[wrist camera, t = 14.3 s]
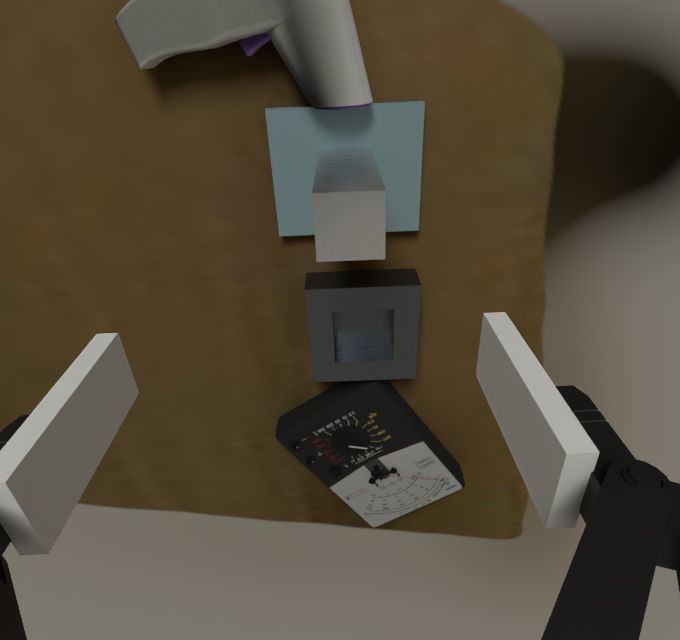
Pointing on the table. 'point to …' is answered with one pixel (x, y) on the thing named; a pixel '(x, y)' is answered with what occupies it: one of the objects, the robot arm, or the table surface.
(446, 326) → the table surface
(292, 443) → the multimeter
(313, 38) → the infrared thermometer
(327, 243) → the long steel block
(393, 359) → the socket block
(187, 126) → the table surface
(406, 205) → the slate mat
